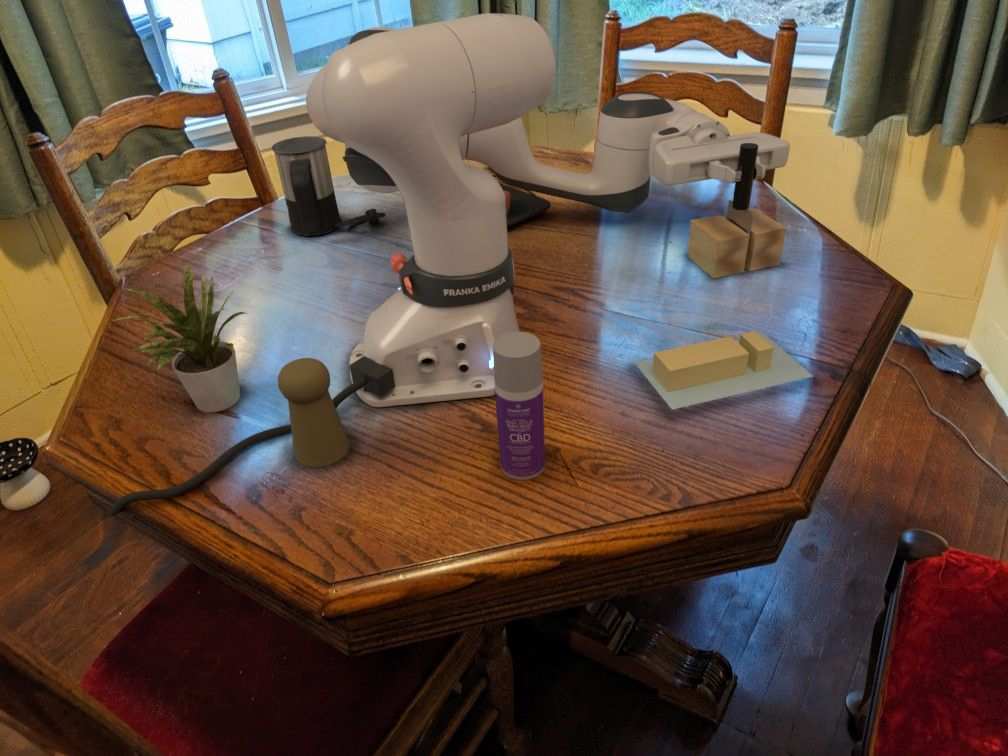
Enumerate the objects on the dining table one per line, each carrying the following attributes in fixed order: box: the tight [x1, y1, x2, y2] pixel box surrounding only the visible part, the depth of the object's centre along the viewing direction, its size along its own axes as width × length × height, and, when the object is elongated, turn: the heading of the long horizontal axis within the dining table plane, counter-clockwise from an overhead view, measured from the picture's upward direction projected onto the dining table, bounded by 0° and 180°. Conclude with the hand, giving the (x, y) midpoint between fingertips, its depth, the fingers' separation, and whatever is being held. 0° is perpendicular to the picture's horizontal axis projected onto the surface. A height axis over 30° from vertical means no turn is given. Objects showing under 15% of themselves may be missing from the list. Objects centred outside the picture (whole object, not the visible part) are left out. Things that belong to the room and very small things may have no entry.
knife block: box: [687, 208, 787, 279], centre depth 109 cm, size 11×8×6 cm
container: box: [493, 331, 546, 481], centre depth 72 cm, size 5×5×15 cm
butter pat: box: [738, 330, 774, 372], centre depth 86 cm, size 2×4×3 cm, turn 16°
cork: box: [277, 357, 351, 468], centre depth 77 cm, size 6×6×11 cm
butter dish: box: [633, 333, 814, 410], centre depth 87 cm, size 18×10×1 cm, turn 106°
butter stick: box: [653, 335, 749, 392], centre depth 85 cm, size 10×4×3 cm, turn 106°
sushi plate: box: [487, 166, 552, 227], centre depth 138 cm, size 29×30×4 cm
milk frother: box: [270, 135, 386, 237], centre depth 126 cm, size 14×16×15 cm
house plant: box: [111, 261, 251, 413], centre depth 85 cm, size 14×14×16 cm
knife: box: [725, 143, 758, 258], centre depth 105 cm, size 2×6×16 cm, turn 16°
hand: (748, 175), depth 102 cm, fingers closed on knife, 2 cm apart
